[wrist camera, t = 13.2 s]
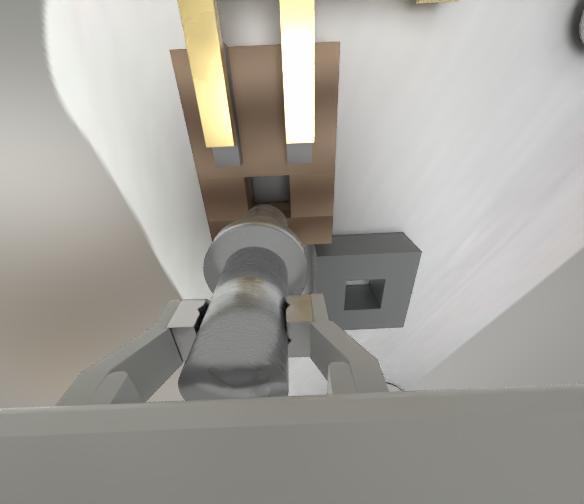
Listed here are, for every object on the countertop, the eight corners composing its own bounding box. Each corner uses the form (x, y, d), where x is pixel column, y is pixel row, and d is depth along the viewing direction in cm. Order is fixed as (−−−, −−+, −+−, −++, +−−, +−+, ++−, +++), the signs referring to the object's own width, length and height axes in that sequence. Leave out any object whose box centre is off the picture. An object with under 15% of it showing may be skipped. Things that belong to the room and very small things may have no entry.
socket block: (325, 224, 30) (334, 250, 24) (224, 229, 30) (210, 255, 24) (329, 54, 22) (344, 36, 16) (191, 61, 22) (160, 45, 16)
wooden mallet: (430, 129, 23) (483, 137, 16) (222, 140, 23) (198, 151, 16) (469, -60, 17) (573, -155, 11) (191, -46, 17) (138, -133, 11)
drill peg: (302, 255, 19) (321, 431, 9) (234, 258, 19) (170, 438, 9) (300, 188, 17) (324, 320, 6) (222, 191, 17) (111, 330, 6)
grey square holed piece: (389, 302, 36) (403, 327, 32) (312, 305, 36) (316, 331, 32) (403, 232, 30) (421, 251, 26) (312, 236, 30) (316, 256, 26)
